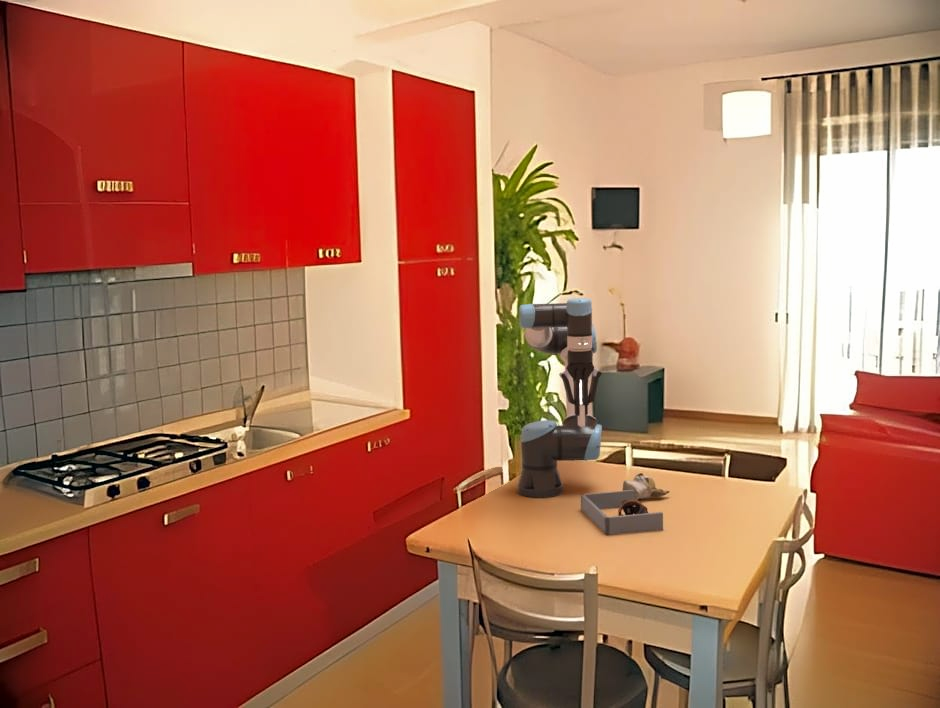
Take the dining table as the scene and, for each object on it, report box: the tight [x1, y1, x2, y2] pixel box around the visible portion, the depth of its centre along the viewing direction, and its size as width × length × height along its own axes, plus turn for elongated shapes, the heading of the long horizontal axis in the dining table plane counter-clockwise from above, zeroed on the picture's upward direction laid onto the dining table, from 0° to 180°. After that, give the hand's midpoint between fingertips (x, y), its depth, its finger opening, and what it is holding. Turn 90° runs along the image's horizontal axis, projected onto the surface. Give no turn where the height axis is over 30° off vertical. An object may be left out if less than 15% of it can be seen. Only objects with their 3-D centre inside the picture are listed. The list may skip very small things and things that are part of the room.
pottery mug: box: [617, 500, 649, 516], centre depth 256 cm, size 12×10×8 cm
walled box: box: [580, 490, 664, 536], centre depth 260 cm, size 24×17×5 cm
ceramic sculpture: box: [622, 473, 670, 501], centre depth 279 cm, size 11×9×15 cm
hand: (581, 425), depth 268 cm, fingers closed
